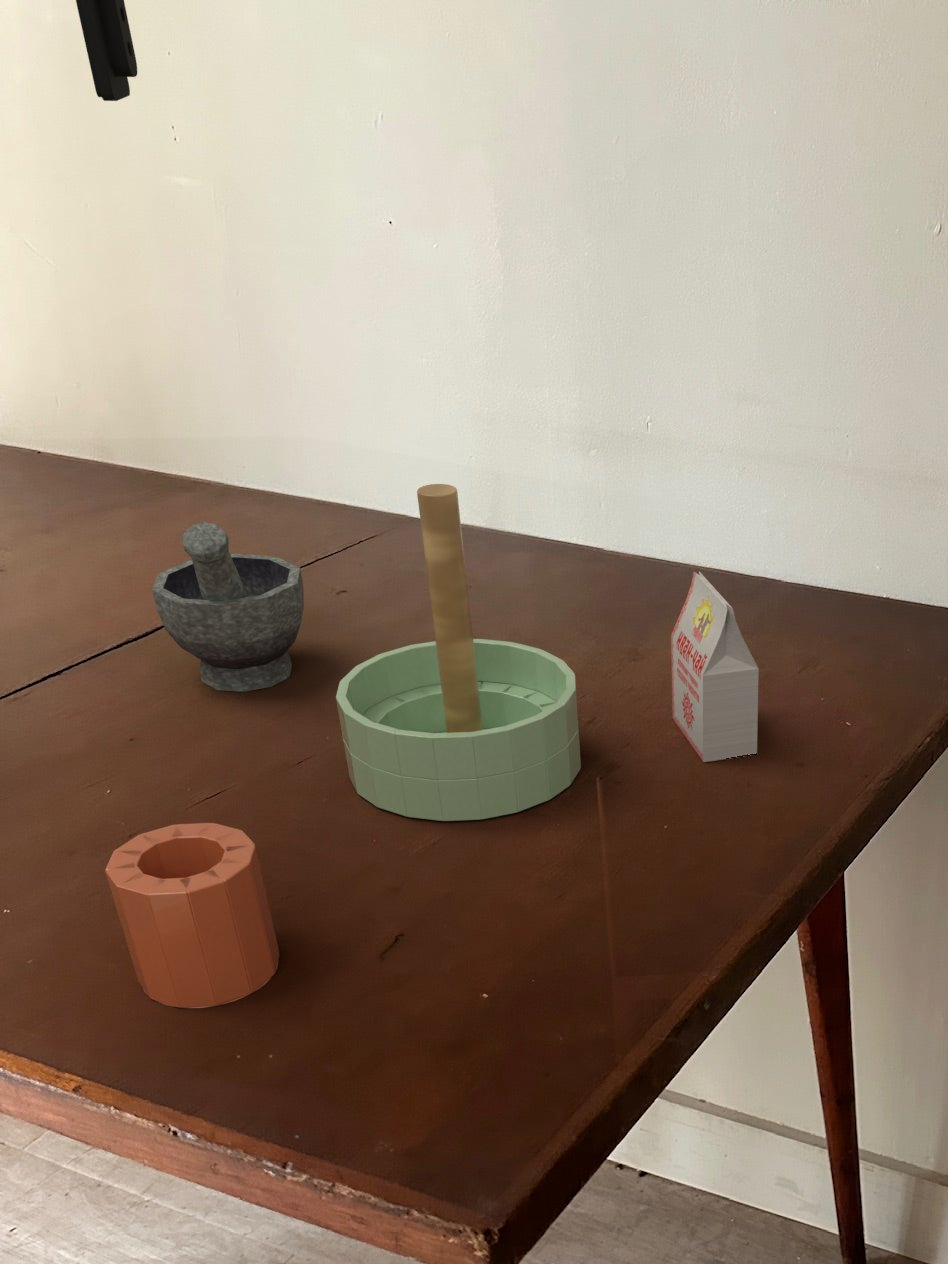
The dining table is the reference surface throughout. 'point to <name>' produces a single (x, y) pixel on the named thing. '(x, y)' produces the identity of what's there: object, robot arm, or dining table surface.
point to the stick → (450, 606)
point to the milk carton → (713, 677)
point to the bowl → (460, 733)
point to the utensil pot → (194, 914)
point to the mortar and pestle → (231, 611)
